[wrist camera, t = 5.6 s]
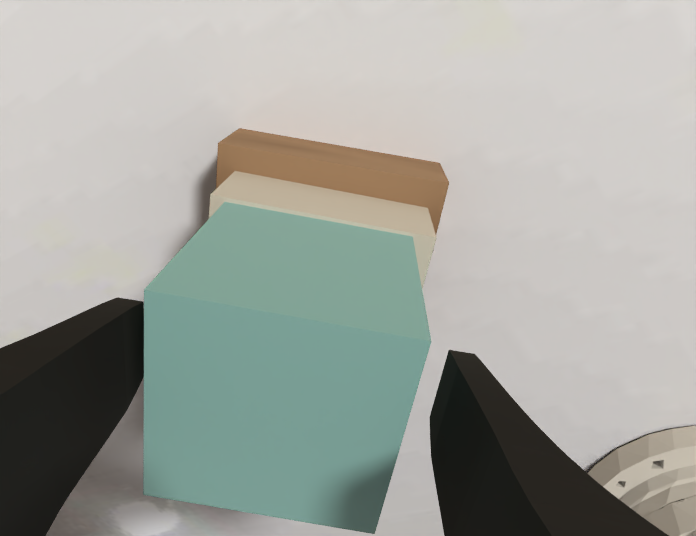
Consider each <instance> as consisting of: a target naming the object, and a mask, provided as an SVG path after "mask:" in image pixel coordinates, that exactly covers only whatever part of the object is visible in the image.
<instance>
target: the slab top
mask: <svg viewBox="0 0 696 536" xmlns="http://www.w3.org/2000/svg"><path fill="white" fill-rule="evenodd" d="M224 202H229V203H234V204H240V205H245V206H250V207H256V208H261V209H267V210H272V211H277V212H283V213H288V214H294V215H299V216H304V217H310V218H315V219H321V220H326V221H331V222H337V223H342V224H348V225H353V226H358V227H364V228H369V229H374V230H380V231H385V232H391V233H396V234H401V235H407V236H412V237H413V241H414V246H415V252H416V258H417V263H418V269H419V275H420V281H421V286H422V288H423V284H424V281H425V277H426V274H427V270H428V266H429V263H430V259H431V256H432V252H433V248H434V245H435V241H436V234H435V231H434V227H433V224H432V221H431V217H430V214H429V210H428V208H426V207H421V206H415V205H410V204H405V203H400V202H395V201H389V200H384V199H379V198H374V197H368V196H363V195H358V194H353V193H348V192H342V191H337V190H332V189H327V188H322V187H316V186H311V185H306V184H301V183H296V182H290V181H285V180H280V179H275V178H270V177H264V176H259V175H254V174H249V173H244V172H238V171H234V172H233V173H232V174H231V175H230V176H229V177H228V178H227V179H226V180H225V181H224V182H223V183H222V184H221V185H220V186H219V187H218V188H217V189H216V190H215V191H214V192H212V193H211V194H210V207H209V218H210V217H211V216H212V215H213V214H214V213H215V212H216V211H217V210H218V209H219V207H220V206H221V205H222V204H223V203H224Z"/></svg>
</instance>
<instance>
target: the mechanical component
mask: <svg viewBox="0 0 696 536" xmlns="http://www.w3.org/2000/svg"><path fill="white" fill-rule="evenodd" d="M588 474H589V475H590V476H591V477H592V478H593V479H594V480H596V481H597V482H598V483H599V484H600V485H602V486H603V487H604V488H605V489H607V490H608V491H609V492H610V493H611V494H613V495H614V496H615V497H617V498H618V499H619V500H621V501H622V502H623V503H625V504H626V505H627V506H629V507H630V508H631V509H633V510H634V511H635V512H636V513H638V514H639V515H640V516H642V517H643V518H645V519H646V520H647V521H649V522H650V523H652V524H653V525H654V526H656V527H657V528H659V529H660V530H662V531H663V532H664V533H666V534H667V535H669V536H696V426H689V427H682V428H675V429H670V430H665V431H661V432H657V433H653V434H649V435H646V436H644V437H642V438H640V439H638V440H635V441H633V442H631V443H629V444H626V445H624V446H622V447H620V448H618V449H616V450H615V451H613V452H612V453H611V454H609V455H608V456H607V457H605V458H604V459H603V460H601V461H600V462H599V463H597V464H596V465H595V466H594V467H593V468H592V469H591V470H590V471H589V472H588Z"/></svg>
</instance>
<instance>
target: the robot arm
mask: <svg viewBox="0 0 696 536" xmlns="http://www.w3.org/2000/svg"><path fill="white" fill-rule="evenodd" d="M143 377H144V304H143V302H142V301H136V300H129V299H123V298H115V299H112V300H110V301H107V302H105V303H102V304H100V305H98V306H96V307H93V308H91V309H89V310H87V311H85V312H82V313H80V314H78V315H76V316H74V317H72V318H69V319H67V320H65V321H63V322H61V323H58V324H56V325H54V326H52V327H50V328H47V329H45V330H43V331H41V332H39V333H36V334H34V335H32V336H29V337H27V338H24V339H22V340H19V341H17V342H15V343H12V344H10V345H7V346H5V347H2V348H0V536H46V534H47V532H48V530H49V528H50V526H51V525H52V523H53V521H54V519H55V517H56V516H57V514H58V512H59V510H60V509H61V507H62V506H63V504H64V502H65V501H66V499H67V498H68V496H69V494H70V493H71V491H72V490H73V488H74V487H75V486H76V484H77V483H78V481H79V480H80V478H81V477H82V475H83V474H84V472H85V471H86V470H87V468H88V467H89V465H90V464H91V462H92V461H93V459H94V458H95V456H96V455H97V454H98V452H99V451H100V449H101V448H102V446H103V445H104V443H105V442H106V441H107V439H108V438H109V436H110V435H111V433H112V432H113V430H114V429H115V427H116V426H117V424H118V423H119V421H120V420H121V418H122V417H123V415H124V414H125V412H126V411H127V409H128V407H129V405H130V403H131V401H132V399H133V397H134V396H135V394H136V392H137V389H138V387H139V385H140V383H141V381H142V379H143ZM430 441H431V458H432V465H433V471H434V477H435V483H436V489H437V495H438V500H439V506H440V512H441V518H442V524H443V529H444V535H445V536H669V535H667V534H666V533H664V532H663V531H662V530H660V529H659V528H657V527H656V526H654V525H653V524H652V523H650V522H649V521H647V520H646V519H645V518H643V517H642V516H640V515H639V514H638V513H636V512H635V511H634V510H633V509H631V508H630V507H629V506H627V505H626V504H625V503H623V502H622V501H621V500H619V499H618V498H617V497H615V496H614V495H613V494H611V493H610V492H609V491H608V490H607V489H605V488H604V487H603V486H602V485H600V484H599V483H598V482H597V481H596V480H594V479H593V478H592V477H591V476H590V475H589V474H588V473H586V472H585V471H584V470H583V469H582V468H581V467H580V466H578V465H577V464H576V463H575V462H574V461H573V460H572V459H570V458H569V457H568V456H567V455H566V454H565V453H564V452H563V451H562V450H561V449H560V448H559V447H558V446H557V445H556V444H555V443H554V442H553V441H552V440H551V439H550V438H549V437H548V436H547V435H546V434H545V433H544V432H543V431H542V430H541V429H540V428H539V427H538V426H537V425H536V424H535V423H534V422H533V421H532V420H531V419H530V418H529V416H528V415H527V414H526V413H525V412H524V411H523V410H522V409H521V408H520V406H519V405H518V404H517V403H516V402H515V401H514V400H513V398H512V397H511V396H510V395H509V394H508V393H507V391H506V390H505V389H504V388H503V387H502V386H501V384H500V383H499V382H498V381H497V380H496V378H495V377H494V376H493V375H492V374H491V372H490V371H489V370H488V369H487V368H486V366H485V365H484V364H483V363H482V362H481V360H480V359H479V358H478V357H477V356H476V355H475V354H471V353H465V352H459V351H452V350H449V352H448V355H447V359H446V362H445V366H444V369H443V373H442V376H441V380H440V383H439V387H438V390H437V394H436V397H435V401H434V404H433V408H432V411H431V415H430Z"/></svg>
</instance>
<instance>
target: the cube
mask: <svg viewBox="0 0 696 536" xmlns="http://www.w3.org/2000/svg"><path fill="white" fill-rule="evenodd" d="M430 344H431V337H430V332H429V326H428V320H427V315H426V309H425V303H424V298H423V292H422V286H421V281H420V275H419V269H418V263H417V258H416V252H415V246H414V241H413V237H412V236H407V235H401V234H396V233H391V232H385V231H380V230H374V229H369V228H364V227H358V226H353V225H348V224H342V223H337V222H331V221H326V220H321V219H315V218H310V217H304V216H299V215H294V214H288V213H283V212H277V211H272V210H267V209H261V208H256V207H250V206H245V205H240V204H234V203H229V202H224V203H223V204H222V205H221V206H220V207H219V209H218V210H217V211H216V212H215V213H214V214H213V215H212V216H211V217H210V218H209V219H208V221H207V222H206V223H205V224H204V225H203V226H202V227H201V228H200V229H199V230H198V231H197V233H196V234H195V235H194V236H193V237H192V238H191V239H190V240H189V241H188V242H187V243H186V245H185V246H184V247H183V248H182V249H181V250H180V251H179V252H178V253H177V254H176V256H175V257H174V258H173V259H172V260H171V261H170V262H169V263H168V264H167V265H166V266H165V268H164V269H163V270H162V271H161V272H160V273H159V274H158V275H157V276H156V277H155V278H154V280H153V281H152V282H151V283H150V284H149V285H148V286H147V287H146V288H145V289H144V474H143V495H148V496H153V497H159V498H165V499H171V500H177V501H183V502H189V503H195V504H201V505H207V506H212V507H218V508H224V509H230V510H236V511H242V512H248V513H254V514H260V515H266V516H272V517H277V518H283V519H289V520H295V521H301V522H307V523H313V524H319V525H325V526H331V527H336V528H342V529H348V530H354V531H360V532H366V533H372V534H375V531H376V527H377V524H378V520H379V517H380V514H381V510H382V507H383V503H384V500H385V497H386V493H387V490H388V486H389V483H390V480H391V476H392V473H393V469H394V466H395V463H396V459H397V456H398V452H399V449H400V446H401V442H402V439H403V435H404V432H405V429H406V425H407V422H408V418H409V415H410V412H411V408H412V405H413V402H414V398H415V395H416V391H417V388H418V385H419V381H420V378H421V374H422V371H423V368H424V364H425V361H426V357H427V354H428V351H429V347H430Z"/></svg>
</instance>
